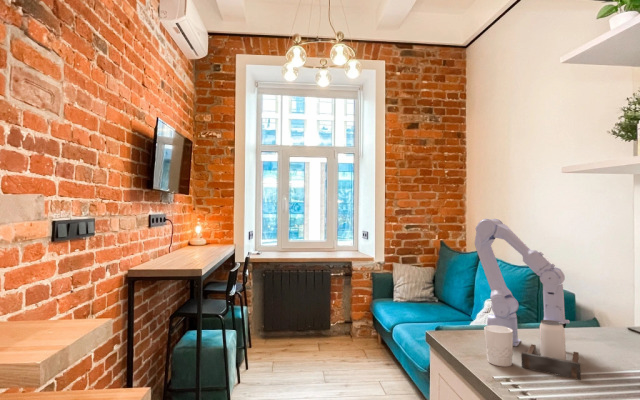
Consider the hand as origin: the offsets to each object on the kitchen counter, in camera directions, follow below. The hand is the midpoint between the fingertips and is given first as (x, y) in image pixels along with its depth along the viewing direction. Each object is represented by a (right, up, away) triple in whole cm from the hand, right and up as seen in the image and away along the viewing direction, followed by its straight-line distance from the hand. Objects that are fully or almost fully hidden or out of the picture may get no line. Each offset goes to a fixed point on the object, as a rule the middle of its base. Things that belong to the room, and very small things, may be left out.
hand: (555, 347), depth 116 cm
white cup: (-22, -2, -8) cm, 24 cm away
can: (-6, -1, -8) cm, 10 cm away
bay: (-8, -1, -10) cm, 13 cm away
